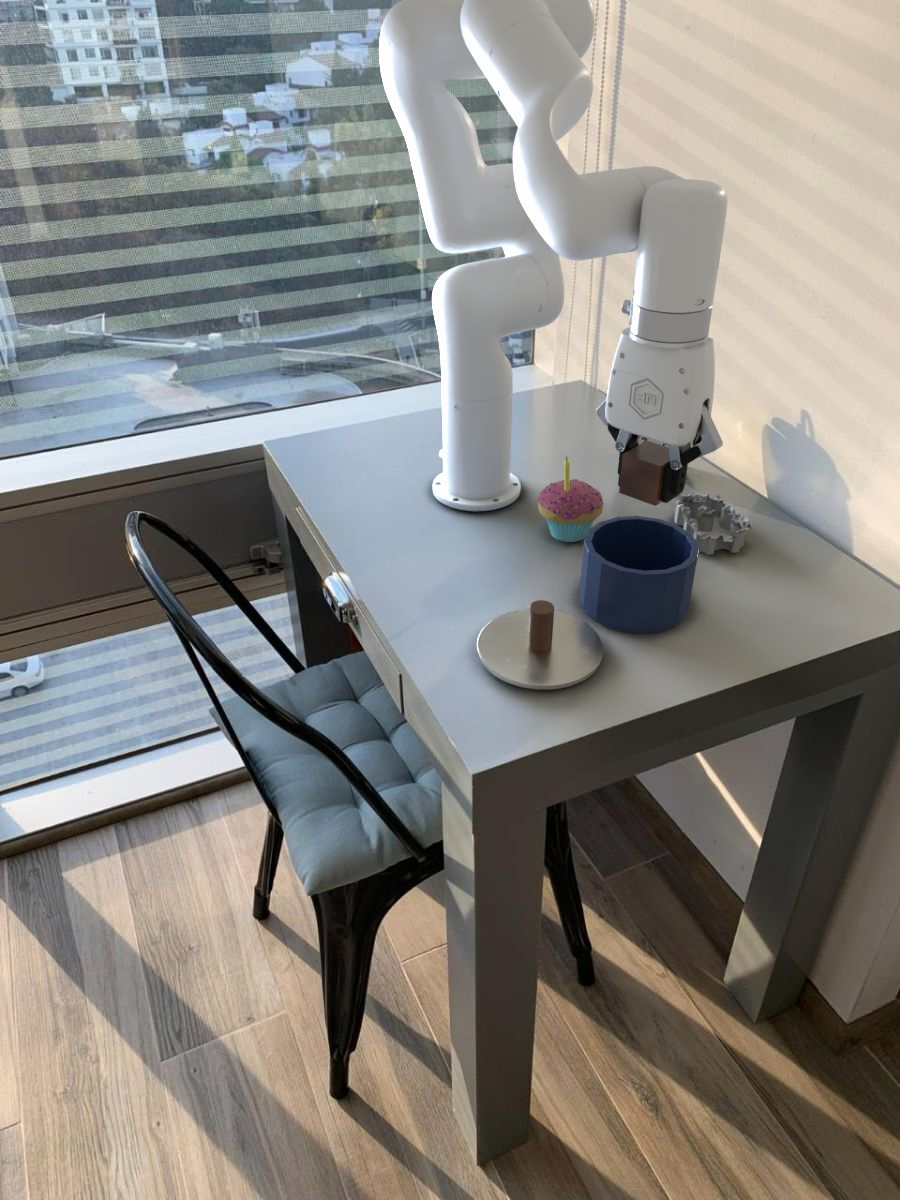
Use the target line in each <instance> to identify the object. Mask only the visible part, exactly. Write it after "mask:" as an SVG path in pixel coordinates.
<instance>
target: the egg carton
mask: <svg viewBox="0 0 900 1200" xmlns="http://www.w3.org/2000/svg"><path fill="white" fill-rule="evenodd" d="M675 502H676V507H675V508H676V509H675V512H674V519H673V520H674V521H673V522H674V524H676V525H678V526H683V528H682V529H684V530H685V531H687V532H688V533H690V534H691V535H692V536H693V537H694V539H695V540H696V542H697V544H698V545H699V553H700V552H701V553H703V554H704V555H705V554H706V555H714V554H715V551H717V550H725V551H729V552H730V553H731V554H735V553H740V549H741V548H743V547H744V545H745V541H746V538H747V531H748V530H752V524H751V522H750V520H749V519H748V518H747V517H746V516H745V515H743V516H742V515H741V513H739V512H737V510H736V509H735V508H734V507H733V506H731V505H729V504H728V503H725V501H724V498H723V497H721V495H719V494H718V495H716V496H715V497H710V494H709V493H706V494H705V495H701V494H695V495H694V494H691V493H689V494H688V495H685V494H679V495H678V496H676V497H675Z"/></svg>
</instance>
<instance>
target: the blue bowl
mask: <svg viewBox="0 0 900 1200" xmlns="http://www.w3.org/2000/svg"><path fill="white" fill-rule="evenodd" d="M699 553H700V551H699V545H698V544H697V542H696V540H695V539H694V537H693V536H692V535H691V534H690V533H688V532H687V531H685V530H684V529H683V528H682V527H681V525H678V524H676V523H672V522H670V521H667V520H664V519H661V518H656V517H648V516H642V515H623V516H616V517H612V518H609V519H604V520H602V521H599V522H598V523H597V524H595V525H593V526H592V527H590V528H589V530H588V532H587V534H586V536H585V538H584V540H583V548H582V559H581V570H580V571H581V572H580V582H579V595H578V596H579V601H580V605H581V607H582V610H583V611H584V612H585V613H586V614H587V616H589V618H591V619H592V620H594V621H595V622H597V623H598V624H600V625H602V626H604V627H607V628H609V629H612V630H615V631H618V632H623V633H628V634H629V633H630V634H638V635H639V634H640V635H641V634H643V635H644V634H656V633H661V632H664V631H668V630H670V629H673V628H674V627H676V626H678V625H680V624H681V623H682V622H683V621H684V620H685V619H686V618H687V615H688V613H689V609H690V603H691V597H692V592H693V585H694V581H695V574H696V570H697V565H698V564H697V563H698V557H699Z"/></svg>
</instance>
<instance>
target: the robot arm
mask: <svg viewBox="0 0 900 1200" xmlns="http://www.w3.org/2000/svg"><path fill="white" fill-rule="evenodd" d="M595 25H596V23H595V11H594V6H593V3H592V0H401V1H399V2H397V3H396V4H394V5H393V6H392V7H391V8H390V9H389V11H388V12H387V13H386V15H385V17H384V19H383V22H382V25H381V28H380V33H379V41H378V43H379V45H378V55H379V66H380V67H379V68H380V75H381V79H382V84H383V87H384V91H385V93H386V96H387V99H388V101H389V104H390V106H391V109H392V111H393V113H394V116H395V118H396V120H397V122H398V125H399V127H400V129H401V132H402V134H403V136H404V140H405V142H406V146H407V149H408V153H409V158H410V163H411V167H412V168H411V169H412V171H413V172H412V173H413V177H414V180H415V185H416V189H417V193H418V197H419V201H420V202H419V203H420V205H421V210H422V215H423V218H424V222H425V227H426V229H427V233H428V236H429V239H430V240H431V243H432V244H433V245H434V247H435V248H436V249H437V250H439V251H440V252H442V253H445V254H463V253H470V252H479V251H483V250H488V249H489V250H490V249H494V248H500V247H502V250H503V252H504V256H503V257H493V258H487V259H481V260H477V261H472V262H466V263H463V264H459V265H457V266H454V267H452V268H450V269H448V270H447V271H445V272H444V273H442V274H441V275H440V277H439V278H438V279H437V280H436V282H435V284H434V286H433V290H432V294H431V303H432V311H433V317H434V322H435V323H434V324H435V326H436V331H437V336H438V345H439V354H440V372H441V418H442V419H441V420H442V421H441V422H442V424H441V425H442V431H441V432H442V449H440V450H439V452H438V456H439V458H440V459H442V472H441V473H439V474H438V475H437V476H436V477H435V478H434V479H433V482H432V494H433V496H434V498H435V499H436V500H437V501H438V502H440V503H442V504H443V505H444V506H447V507H449V508H451V509H456V510H459V511H465V512H488V511H494V510H498V509H501V508H504V507H507V506H509V505H511V504H512V503H515V501H516V500H517V499H518V498H519V496H520V495H521V489H522V488H521V486H522V485H521V481H520V479H519V478H518V477H517V476H516V475H515V474H514V473H512V472H511V457H512V456H511V455H512V429H513V426H512V425H513V397H514V372H513V368H512V365H511V362H510V360H509V359H508V357H507V356H506V354H505V353H504V351H503V350H502V348H501V347H500V344H499V342H500V339H502V338H505V337H509V336H512V335H514V334H520V333H524V332H528V331H532V330H538V329H541V328H545V327H547V326H548V325H550V324H552V323H553V322H555V321H556V320H557V319H558V318H559V316H560V314H561V313H562V310H563V307H564V304H565V282H564V281H565V280H564V275H563V270H562V264H561V260H560V257H561V258H564V259H567V260H570V261H576V262H577V261H579V262H580V261H581V262H582V261H587V260H588V261H589V260H593V259H594V260H595V259H598V258H604V257H607V256H613V255H617V254H627V253H634V252H636V263H635V272H634V282H633V283H634V284H633V291H632V292H633V293H632V299H631V300H630V299H625V300H624V301H623V303H622V305H621V312H622V314H625V315H628V317H629V323H628V325H629V327H626V328H624V329H622V331H621V334H620V336H619V339H618V342H617V346H616V349H615V353H614V356H613V360H612V364H611V370H610V374H609V379H608V385H607V392H606V398H605V399H604V401H603V402H602V403H601V404H600V405H599V406H598V407H597V408H596V411H595V412H596V415H597V416H598V418H599V419H600V420H601V422H602V423H603V424H604V426H606V427H607V431H608V432H609V434H610V436H611V437H612V439H613V440H614V442H615V446H614V448H615V450H616V451H617V452H619V456H618V465H617V474H618V480H617V481H618V482H617V486H618V487H620V479H621V469H622V459H623V454H624V453H626V452H627V451H629V450H631V449H633V448H634V447H636V446H638V445H640V444H639V441H640V439H641V437H642V438H645V439H649V440H652V441H655V442H658V443H661V444H665V445H667V447H668V449H669V459H670V466H668V467H666V468H665V470H664V477H663V485H662V492H661V501H662V502H661V503H665V504H667V503H669V502H671V501H672V500H674V499H676V496H678V495H679V494H680V495H682V493H683V492H684V490H685V486H686V479H687V474H688V473H687V472H688V465H689V464H690V463H691V462H694V461H695V460H697V459H698V458H701V457H703V456H706V455H708V454H711V453H714V452H716V451H717V450H719V449H720V448H721V447H723V446H724V445H723V444H724V442H723V440H722V437H721V436H720V433H719V431H718V428H717V426H716V425H715V422H714V420H713V418H712V412H713V403H714V393H715V392H714V391H715V376H716V375H715V373H716V372H715V370H716V368H715V367H716V362H715V346H714V339H713V338H712V337H709V333H710V328H711V327H710V326H711V320H712V313H713V306H714V298H715V291H716V286H717V278H718V273H719V264H720V257H721V251H722V245H723V239H724V232H725V224H726V218H727V211H728V195H727V191H726V190H725V189H724V188H723V187H722V186H721V185H719V184H718V183H715V182H713V181H709V180H703V179H694V178H693V179H689V178H684V177H682V176H680V175H678V174H676V173H673V172H672V171H670V170H668V169H666V168H664V167H659V166H656V165H655V166H654V165H643V166H635V167H627V168H615V169H609V170H601V171H593V172H587V173H580V174H579V173H578V172H577V171H576V170H575V169H574V167H573V166H572V165H571V164H570V162H569V160H568V159H567V157H566V156H565V154H564V153H563V152H562V150H561V148H560V146H559V144H558V141H559V140H560V139H562V138H563V137H565V136H566V135H567V134H568V133H569V132H570V131H571V130H572V129H573V128H574V127H576V126H577V124H578V123H579V122H580V120H581V119H582V118H583V116H584V115H585V113H586V112H587V109H588V108H589V105H590V103H591V100H592V97H593V91H594V83H593V77H592V74H591V73H590V70H589V69H588V67H587V66H586V64H585V63H584V62H583V60H582V58H583V57H584V56H585V55H586V53H587V52H588V50H589V48H590V46H591V44H592V41H593V39H594V35H595V34H594V33H595ZM479 79H486V80H487V82H488V83H489V85H490V86H491V87H492V89H493V91H494V92H495V94H496V95H497V97H498V98H499V100H500V102H501V104H502V105H503V106H504V108H505V109H506V111H507V113H508V115H509V116H510V117H511V119H512V121H513V122H514V123H515V125H516V127H517V129H516V133H515V137H514V140H513V141H514V142H513V146H512V147H513V148H512V163H511V162H510V163H501V164H492V165H488V164H486V163H485V161H484V159H483V156H482V152H481V149H480V144H479V139H478V133H477V129H476V126H475V123H474V122H473V120H472V118H471V116H470V115H469V113H468V111H467V110H466V109H465V107H464V105H462V103H461V102H460V100H458V98H456V96H454V94H453V93H452V92H450V91H449V89H448V88H447V86H446V82H447V81H463V80H479ZM696 435H699V436H700V438H701V441H700V442H698V443H696V444H694V441H693V440H694V438H695V437H696Z"/></svg>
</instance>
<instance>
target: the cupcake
mask: <svg viewBox="0 0 900 1200" xmlns="http://www.w3.org/2000/svg"><path fill="white" fill-rule="evenodd" d="M570 465H571V464H570V460H569V459H568V455H565V460H564V461H563V466H564V468H563V473H564V475H563V477H564V479H562V480H559V481H555V482H553V483H552V482H551V483H549V485H547V486H545V488H544V489H542V490H541V491H540V492H539V496H538V499H537V500H538V501H537V506H538V507H537V508H538V511H539V513H540V515H541V516H542V517H543V518H545V520H546V522H547V526H548V530H549V533H550V535H551V537H553V538H554V539H556V540H557V541H560V542H565V543H576V542H580V541H582V540H583V539H585V537H586V534H587V532H588V530H589V529H591V526H592V524H593V522H595V520H597V519H598V518H599V517H600V516H601V515H602V514H603V512H604V501H603V500H604V499H603V496H602V493H601V492H600V491H599V490H598V488H595V487H594V486H592V485H590V484H589V483H587V482H585V481H583V480H579V479H577V478H576V479H575V478H573V479H570V478H571V477H570V476H571V475H570V474H571V473H570V470H571V467H570Z"/></svg>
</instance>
